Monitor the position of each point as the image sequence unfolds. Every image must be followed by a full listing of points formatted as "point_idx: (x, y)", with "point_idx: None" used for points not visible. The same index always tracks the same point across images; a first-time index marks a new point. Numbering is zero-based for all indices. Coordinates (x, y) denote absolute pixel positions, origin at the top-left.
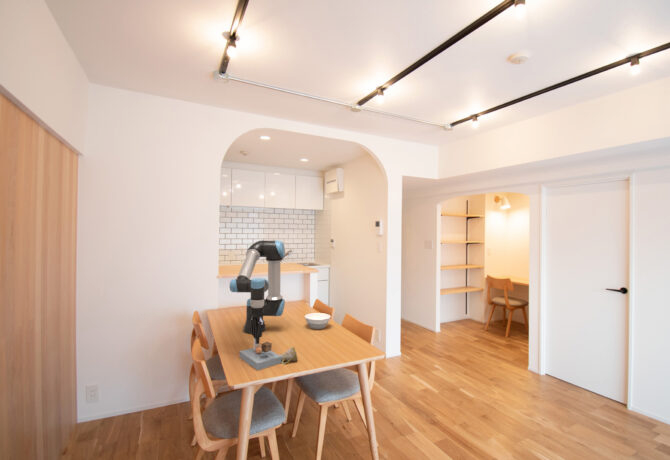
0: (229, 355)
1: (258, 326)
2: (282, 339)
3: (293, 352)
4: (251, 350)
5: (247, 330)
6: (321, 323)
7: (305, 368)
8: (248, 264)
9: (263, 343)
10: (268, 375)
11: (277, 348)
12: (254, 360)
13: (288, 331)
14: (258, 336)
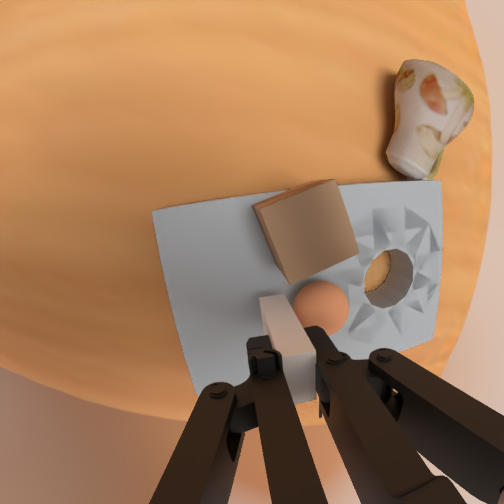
0: (145, 398)
1: (470, 483)
2: (55, 29)
3: (472, 114)
4: (225, 330)
5: None
6: None
7: (487, 127)
8: None
9: (297, 263)
10: (466, 292)
11: (171, 83)
12: (396, 348)
13: (3, 6)
14: (394, 392)
